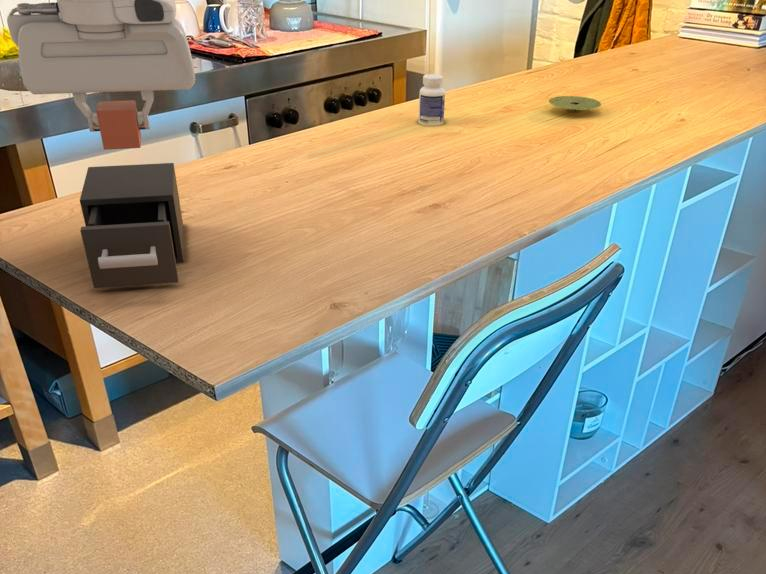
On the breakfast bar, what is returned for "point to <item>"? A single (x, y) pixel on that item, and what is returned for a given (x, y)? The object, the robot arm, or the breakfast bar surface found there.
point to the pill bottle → (431, 101)
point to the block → (118, 124)
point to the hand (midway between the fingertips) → (120, 129)
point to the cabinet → (136, 192)
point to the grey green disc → (574, 103)
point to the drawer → (130, 245)
